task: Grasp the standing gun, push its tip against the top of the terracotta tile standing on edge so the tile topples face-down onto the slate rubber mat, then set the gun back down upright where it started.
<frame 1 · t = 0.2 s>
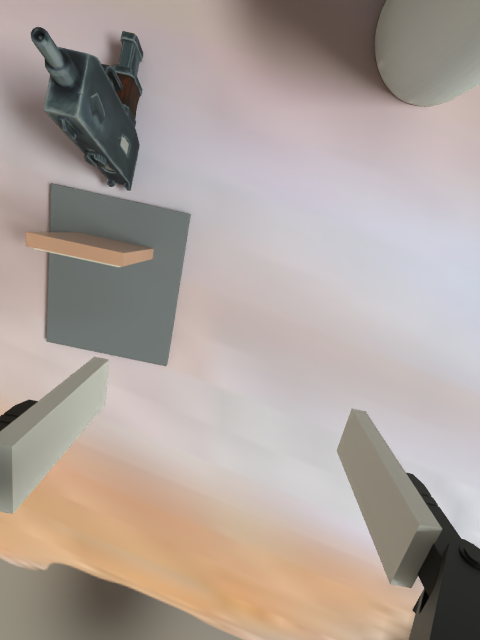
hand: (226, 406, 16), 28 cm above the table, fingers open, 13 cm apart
gun: (131, 123, 37), on the table
tile: (116, 245, 40), point 1 cm above the table, touching mat
utensil holder: (434, 40, 34), on the table
mat: (115, 281, 42), on the table
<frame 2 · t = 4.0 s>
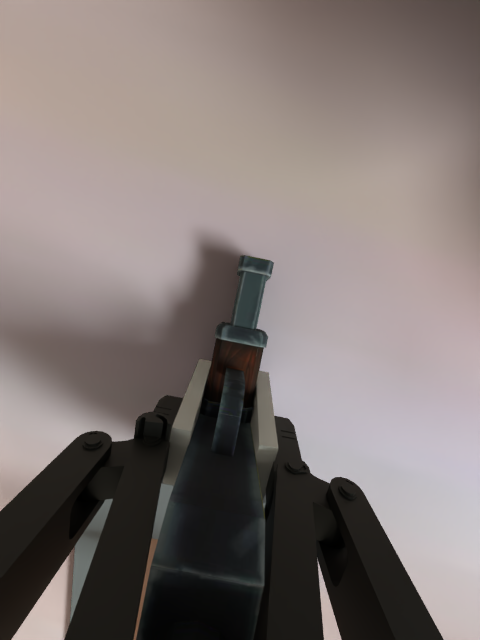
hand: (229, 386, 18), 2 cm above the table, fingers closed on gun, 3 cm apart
gun: (231, 372, 20), on the table, touching gripper
tile: (192, 552, 23), point 1 cm above the table, touching mat
mat: (184, 586, 25), on the table
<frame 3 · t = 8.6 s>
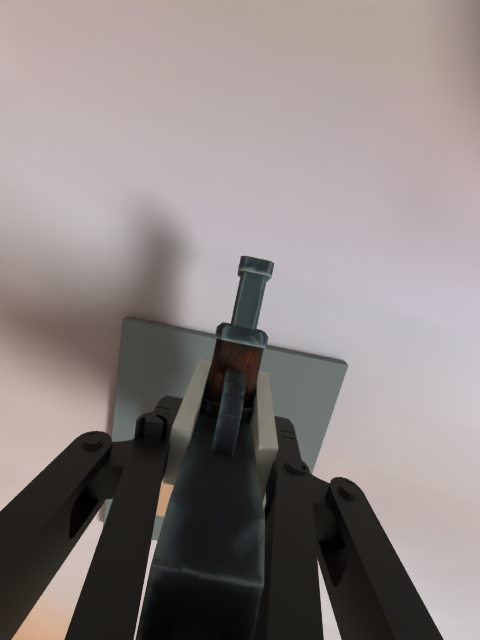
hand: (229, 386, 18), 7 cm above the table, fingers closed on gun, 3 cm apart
gun: (231, 373, 20), point 5 cm above the table, touching gripper
tile: (219, 423, 24), point 2 cm above the table, tilted 90°, touching mat
mat: (213, 450, 27), on the table
when the fingers open (3 cm above the table, at t = 13.7 s): gun drops 1 cm, on the table.
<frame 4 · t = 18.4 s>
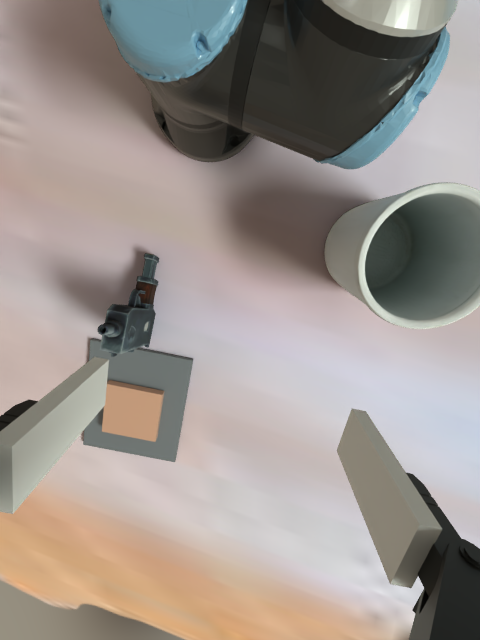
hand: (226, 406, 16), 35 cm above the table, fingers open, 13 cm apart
gun: (149, 299, 50), on the table
tile: (135, 387, 53), point 2 cm above the table, tilted 90°, touching mat
utensil holder: (366, 251, 47), on the table
mat: (136, 402, 56), on the table
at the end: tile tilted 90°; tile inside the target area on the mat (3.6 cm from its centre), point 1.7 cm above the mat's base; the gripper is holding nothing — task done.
